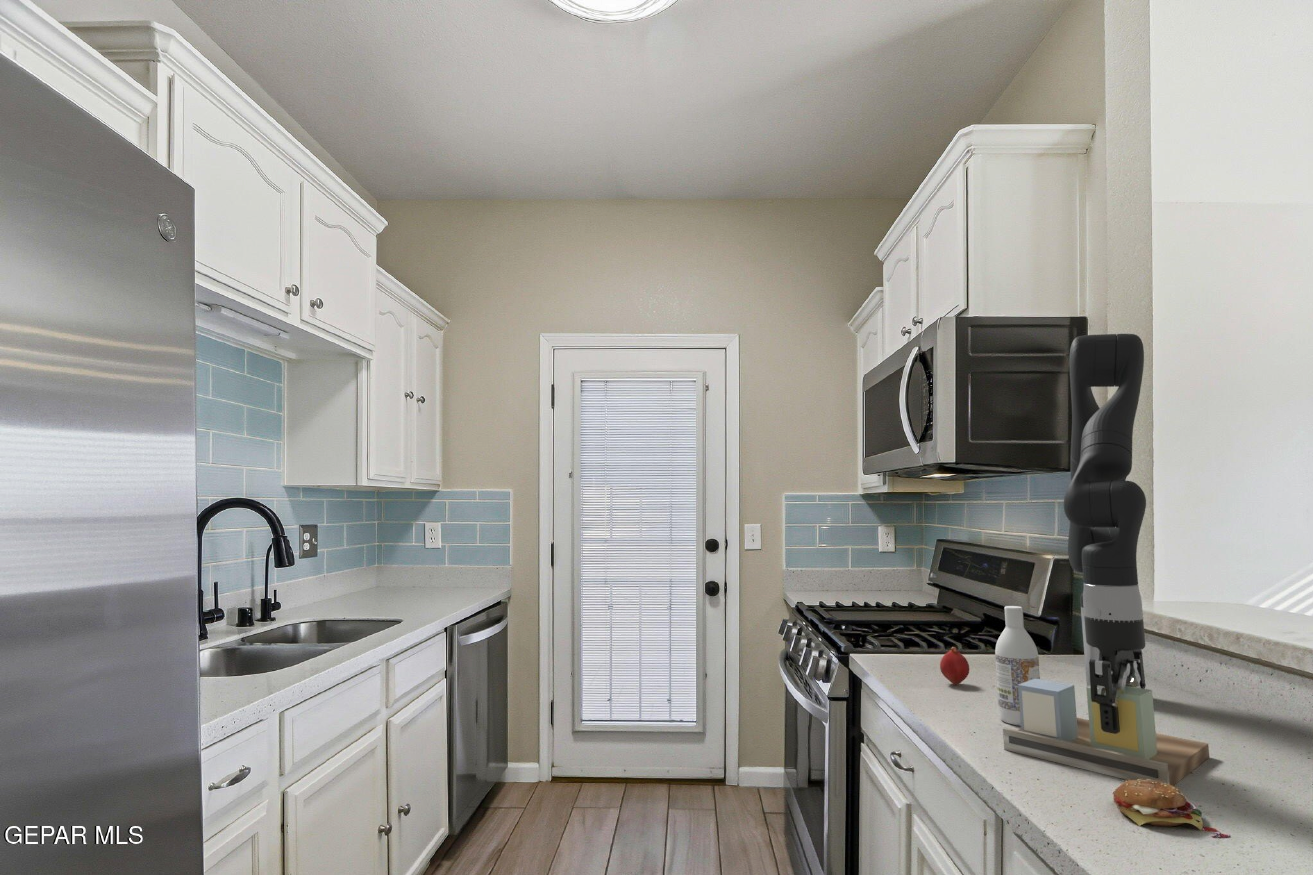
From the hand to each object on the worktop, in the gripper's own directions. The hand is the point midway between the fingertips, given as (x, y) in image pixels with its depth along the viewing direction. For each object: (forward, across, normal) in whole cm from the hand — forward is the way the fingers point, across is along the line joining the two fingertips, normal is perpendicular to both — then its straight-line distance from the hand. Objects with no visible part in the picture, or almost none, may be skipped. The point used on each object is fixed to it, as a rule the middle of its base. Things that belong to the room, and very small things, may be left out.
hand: (1121, 726), depth 107 cm
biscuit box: (+4, -1, +10) cm, 11 cm away
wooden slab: (+6, +4, +4) cm, 8 cm away
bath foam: (+6, +11, +20) cm, 24 cm away
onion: (+6, +27, +41) cm, 49 cm away
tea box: (+4, 0, 0) cm, 4 cm away
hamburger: (+6, -16, -10) cm, 20 cm away
